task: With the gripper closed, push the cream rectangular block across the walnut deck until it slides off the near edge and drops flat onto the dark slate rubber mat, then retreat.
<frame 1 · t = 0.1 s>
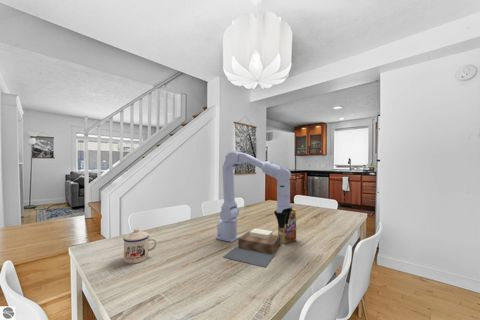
hand: (283, 225, 91), 10 cm above the table, fingers open, 6 cm apart
walnut deck: (259, 246, 94), on the table
cream rectangular block: (261, 235, 96), point 4 cm above the table, touching walnut deck
candy box: (287, 241, 100), on the table, touching gripper
slate mat: (249, 256, 83), on the table
teacup with lid: (140, 258, 81), on the table
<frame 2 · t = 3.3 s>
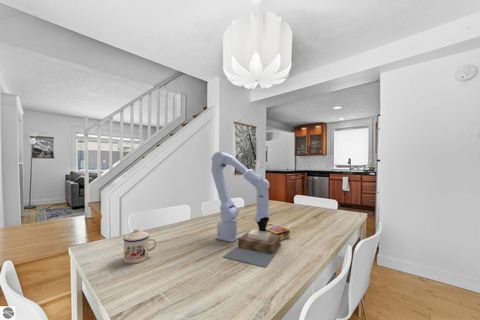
hand: (262, 233, 97), 5 cm above the table, fingers closed
cream rectangular block: (259, 237, 94), point 4 cm above the table, touching gripper
candy box: (284, 235, 102), point 2 cm above the table
everything else where it was.
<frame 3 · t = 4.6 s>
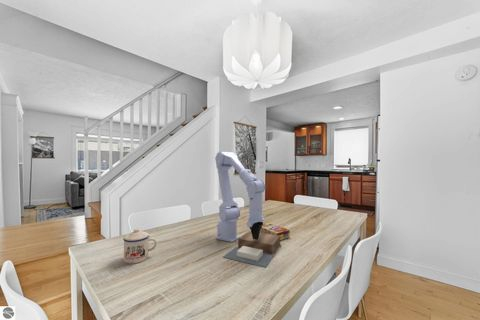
hand: (255, 239, 89), 5 cm above the table, fingers closed
cream rectangular block: (249, 250, 83), point 2 cm above the table, tilted 180°, touching slate mat
everything else where it was.
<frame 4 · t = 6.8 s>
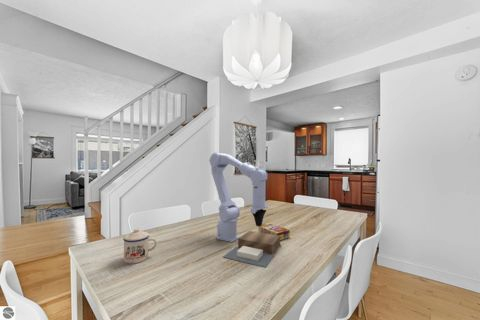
hand: (258, 225, 93), 9 cm above the table, fingers closed
nothing on the table moved.
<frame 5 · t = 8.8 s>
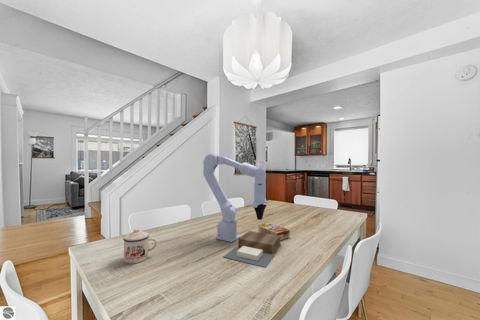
hand: (259, 219, 103), 10 cm above the table, fingers closed
nothing on the table moved.
at the end: cream rectangular block point 2.3 cm above the table; cream rectangular block inside the target area on the slate mat (0.4 cm from its centre), point 2.3 cm above the slate mat's base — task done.
